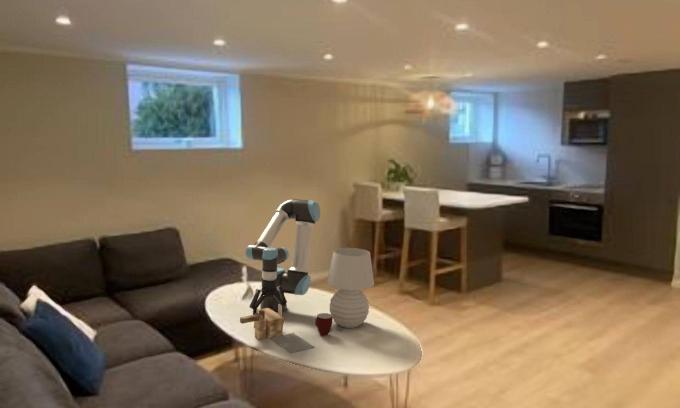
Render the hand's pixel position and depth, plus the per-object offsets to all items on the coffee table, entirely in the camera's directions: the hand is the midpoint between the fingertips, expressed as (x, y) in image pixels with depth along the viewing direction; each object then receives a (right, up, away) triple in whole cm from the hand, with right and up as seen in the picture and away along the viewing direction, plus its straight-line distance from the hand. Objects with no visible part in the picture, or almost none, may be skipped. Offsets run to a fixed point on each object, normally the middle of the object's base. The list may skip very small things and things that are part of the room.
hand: (268, 319), depth 262 cm
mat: (+13, -9, -12) cm, 20 cm away
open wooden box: (-2, -6, 0) cm, 7 cm away
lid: (0, 0, 0) cm, 0 cm away
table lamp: (+41, -6, +15) cm, 45 cm away
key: (-6, +2, -11) cm, 13 cm away
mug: (+28, -8, 0) cm, 29 cm away
